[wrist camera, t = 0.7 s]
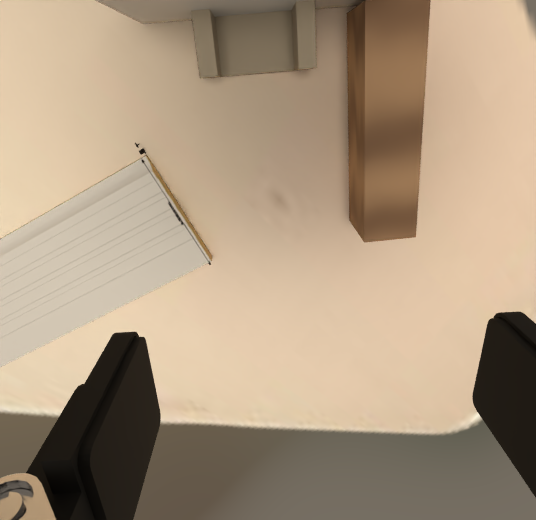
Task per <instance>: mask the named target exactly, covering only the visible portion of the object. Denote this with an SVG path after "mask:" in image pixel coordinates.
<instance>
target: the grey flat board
mask: <svg viewBox="0 0 536 520" xmlns="http://www.w3.org/2000/svg"><path fill="white" fill-rule="evenodd" d="M135 144H136V143H135ZM138 145H139V144H138ZM138 145H137V144H136V146H137V147H138ZM138 148H139V147H138ZM139 152H140V154H141V155H142V154H143V153H145V154H146V152H145V151H144V149H141V150H140V151H139ZM211 261H212V256H211V254H210V253H209V251H208V249H207V248H206V246H205V245H204V243H203V242H202V240H201V239H200V237H199V235H198V234H197V232H196V231H195V229H194V228H193V226H192V225H191V223H190V222H189V220H188V218H187V217H186V215H185V214H184V212H183V211H182V209H181V208H180V206H179V204H178V203H177V201H176V200H175V198H174V197H173V195H172V194H171V192H170V191H169V189H168V187H167V186H166V184H165V183H164V181H163V180H162V178H161V177H160V175H159V173H158V172H157V170H156V169H155V167H154V166H153V164H152V163H151V161H150V159H149V158H148V156H147V155H146V156H144V157H143V158H141V159H139V160H137V161H136V162H134V163H132V164H130V165H129V166H127V167H125V168H123V169H122V170H120V171H118V172H116V173H115V174H113V175H111V176H109V177H108V178H106V179H104V180H102V181H101V182H99V183H97V184H95V185H94V186H92V187H90V188H88V189H87V190H85V191H83V192H81V193H80V194H78V195H76V196H75V197H73V198H71V199H69V200H68V201H66V202H64V203H62V204H61V205H59V206H57V207H55V208H54V209H52V210H50V211H48V212H47V213H45V214H43V215H41V216H40V217H38V218H36V219H34V220H33V221H31V222H29V223H27V224H26V225H24V226H22V227H20V228H19V229H17V230H15V231H13V232H12V233H10V234H8V235H6V236H5V237H3V238H1V239H0V367H2V366H4V365H6V364H8V363H10V362H12V361H14V360H16V359H18V358H20V357H22V356H24V355H26V354H28V353H30V352H32V351H34V350H36V349H38V348H40V347H42V346H44V345H46V344H48V343H50V342H52V341H54V340H56V339H58V338H60V337H62V336H64V335H66V334H68V333H70V332H72V331H74V330H76V329H78V328H80V327H82V326H84V325H86V324H88V323H90V322H92V321H94V320H96V319H98V318H100V317H102V316H104V315H106V314H108V313H110V312H112V311H114V310H116V309H118V308H120V307H122V306H124V305H126V304H128V303H130V302H132V301H134V300H136V299H138V298H140V297H142V296H144V295H146V294H148V293H150V292H152V291H154V290H156V289H158V288H159V287H161V286H163V285H165V284H167V283H169V282H171V281H173V280H175V279H177V278H179V277H181V276H183V275H185V274H187V273H189V272H191V271H193V270H195V269H197V268H199V267H201V266H203V265H205V264H207V263H209V265H211V263H210V262H211Z"/></svg>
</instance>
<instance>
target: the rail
mask: <svg viewBox="0 0 536 520" xmlns="http://www.w3.org/2000/svg"><path fill="white" fill-rule="evenodd" d="M429 15H430V0H366V1H364V2H363V3H361V4H360V5H358V6H357V7H355V8H354V9H353V10H351V11H350V12H348V13H347V58H348V138H349V218H350V222H351V223H352V225H353V226H354V228H355V229H356V231H357V232H358V234H359V235H360V237H361V238H362V240H363V241H364V242H373V241H383V240H393V239H403V238H412V237H416V225H417V209H418V193H419V176H420V160H421V144H422V128H423V112H424V96H425V79H426V63H427V47H428V31H429Z"/></svg>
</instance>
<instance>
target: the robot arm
mask: <svg viewBox="0 0 536 520" xmlns="http://www.w3.org/2000/svg"><path fill="white" fill-rule="evenodd" d="M473 403H474V406H475V408H476V410H477V412H478V413H479V414H480V416H481V417H482V419H483V420H484V422H485V423H486V425H487V426H488V428H489V429H490V431H491V432H492V434H493V435H494V437H495V438H496V440H497V441H498V443H499V444H500V445H501V447H502V448H503V450H504V451H505V453H506V454H507V456H508V457H509V458H510V460H511V462H512V463H513V465H514V466H515V468H516V469H517V470H518V472H519V473H520V475H521V476H522V478H523V479H524V481H525V482H526V484H527V485H528V487H529V488H530V490H531V491H532V493H533V494H534V496H535V497H536V324H535V323H534V322H533V321H532V320H531V319H530V318H528V317H527V316H526V315H525V314H523V313H522V312H504V313H497V314H496V315H495V316H494V318H492V319H490V320H489V321H488V324H487V329H486V334H485V339H484V343H483V348H482V353H481V358H480V362H479V367H478V372H477V377H476V381H475V386H474V391H473ZM159 426H160V409H159V404H158V399H157V394H156V389H155V384H154V379H153V374H152V369H151V364H150V359H149V354H148V349H147V344H146V340H145V338H144V337H139V335H138V334H137V332H123V333H114V334H113V335H112V337H111V339H110V340H109V342H108V344H107V346H106V347H105V349H104V351H103V352H102V354H101V356H100V358H99V359H98V361H97V363H96V365H95V366H94V368H93V370H92V372H91V373H90V375H89V377H88V379H87V380H86V382H85V384H81V385H80V386H78V387H77V389H76V390H75V391H74V393H73V395H72V396H71V398H70V400H69V401H68V403H67V405H66V406H65V408H64V410H63V411H62V413H61V415H60V417H59V418H58V420H57V422H56V423H55V425H54V427H53V428H52V430H51V432H50V434H49V435H48V437H47V438H46V440H45V442H44V444H43V445H42V447H41V449H40V450H39V452H38V454H37V455H36V457H35V459H34V460H33V462H32V464H31V466H30V467H29V469H28V471H27V472H26V473H17V474H13V475H8V476H5V477H2V478H0V520H133V518H134V514H135V511H136V508H137V504H138V501H139V497H140V493H141V490H142V486H143V483H144V479H145V476H146V472H147V469H148V465H149V462H150V458H151V455H152V451H153V447H154V444H155V440H156V437H157V433H158V430H159Z"/></svg>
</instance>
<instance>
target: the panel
mask: <svg viewBox="0 0 536 520" xmlns="http://www.w3.org/2000/svg"><path fill="white" fill-rule="evenodd" d="M96 1H98V2H100V3H102V4H104V5H106V6H108V7H110V8H112V9H114V10H116V11H118V12H120V13H122V14H124V15H126V16H128V17H130V18H132V19H134V20H136V21H138V22H140V23H142V24H148V23H159V22H171V21H183V20H192V22H193V30H194V37H195V45H196V52H197V59H198V67H199V74H200V78H212V77H224V76H235V75H247V74H258V73H270V72H282V71H293V70H305V69H313V68H317V64H316V23H315V9H321V8H333V7H344V6H356V5H360V4H361V3H363V2H364V1H366V0H96Z"/></svg>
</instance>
